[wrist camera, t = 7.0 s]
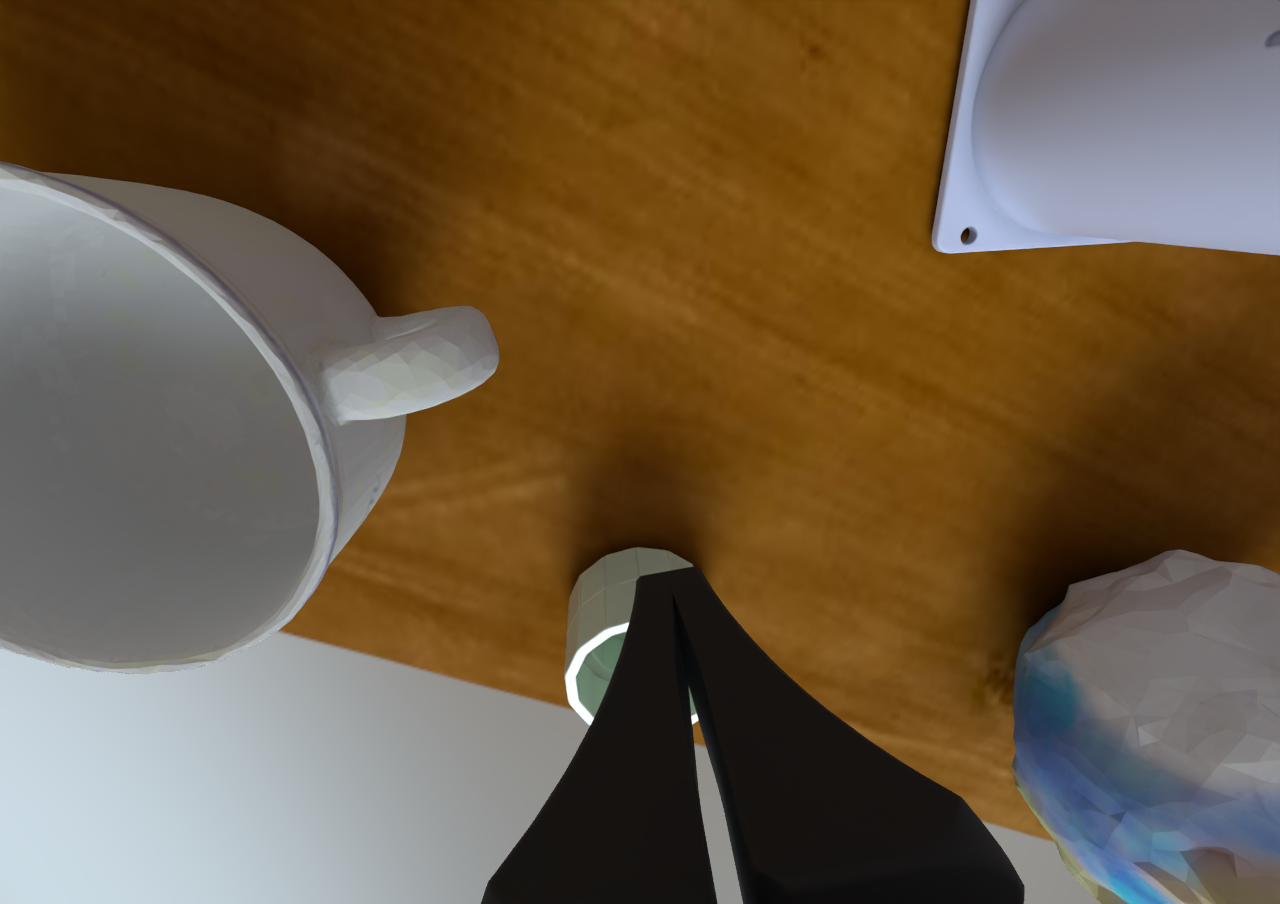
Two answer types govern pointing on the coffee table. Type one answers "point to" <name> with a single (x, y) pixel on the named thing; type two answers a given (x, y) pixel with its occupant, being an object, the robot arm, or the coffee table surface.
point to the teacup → (188, 419)
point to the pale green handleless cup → (606, 622)
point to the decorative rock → (1158, 731)
